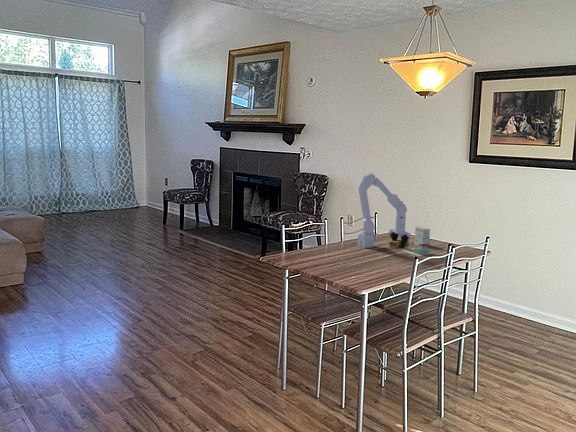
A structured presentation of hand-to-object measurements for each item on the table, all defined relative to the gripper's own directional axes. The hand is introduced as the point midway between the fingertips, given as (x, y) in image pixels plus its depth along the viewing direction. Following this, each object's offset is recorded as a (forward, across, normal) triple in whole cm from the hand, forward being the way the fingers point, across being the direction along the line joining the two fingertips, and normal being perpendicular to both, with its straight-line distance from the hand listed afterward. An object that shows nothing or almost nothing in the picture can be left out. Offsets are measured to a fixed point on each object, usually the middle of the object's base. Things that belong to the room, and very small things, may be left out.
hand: (399, 246), depth 298 cm
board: (+2, -8, 0) cm, 9 cm away
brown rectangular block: (+1, 0, 0) cm, 1 cm away
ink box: (+2, -3, -17) cm, 17 cm away
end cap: (+1, -16, 0) cm, 17 cm away
